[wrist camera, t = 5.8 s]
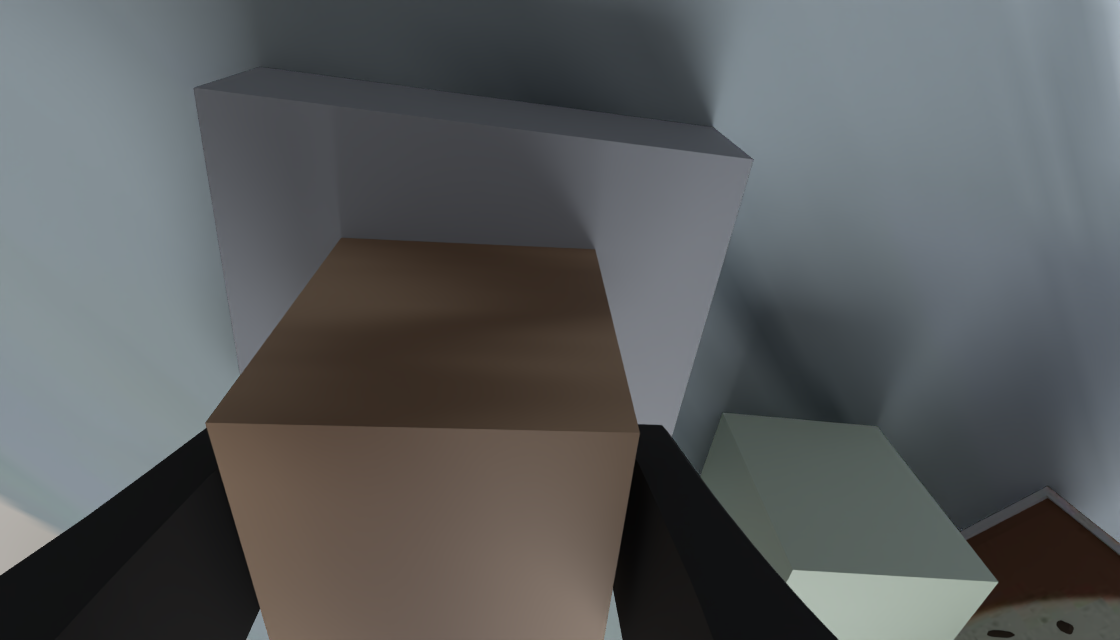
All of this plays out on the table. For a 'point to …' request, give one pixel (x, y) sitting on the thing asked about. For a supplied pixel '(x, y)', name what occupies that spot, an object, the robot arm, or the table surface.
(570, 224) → the base block
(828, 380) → the table surface
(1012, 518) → the food container
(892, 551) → the sage block
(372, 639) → the walnut block
